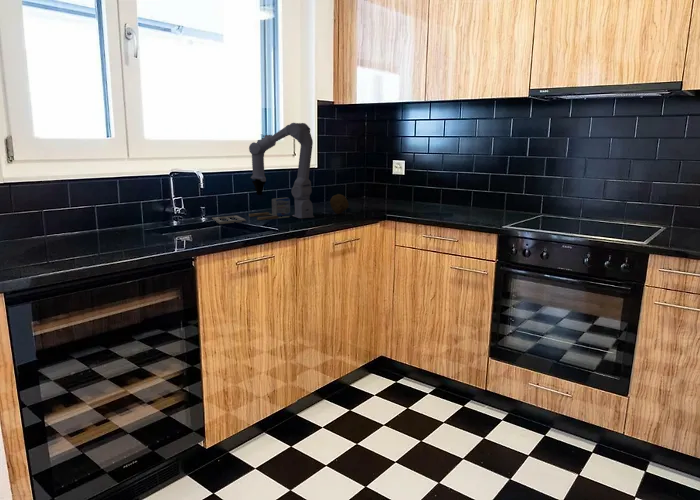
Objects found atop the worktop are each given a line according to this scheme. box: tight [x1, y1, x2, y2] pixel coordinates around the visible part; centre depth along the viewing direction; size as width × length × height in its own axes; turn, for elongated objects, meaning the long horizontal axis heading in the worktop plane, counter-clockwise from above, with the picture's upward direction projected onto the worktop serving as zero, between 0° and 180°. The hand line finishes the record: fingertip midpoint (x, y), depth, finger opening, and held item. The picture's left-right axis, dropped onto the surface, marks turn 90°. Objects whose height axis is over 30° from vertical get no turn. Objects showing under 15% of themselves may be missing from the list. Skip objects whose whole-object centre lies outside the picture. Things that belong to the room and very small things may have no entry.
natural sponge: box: [329, 193, 350, 215], centre depth 247 cm, size 9×9×10 cm
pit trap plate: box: [211, 215, 247, 225], centre depth 231 cm, size 13×12×1 cm
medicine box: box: [271, 197, 291, 217], centre depth 243 cm, size 8×4×9 cm, turn 128°
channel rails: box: [248, 211, 279, 221], centre depth 239 cm, size 13×10×1 cm
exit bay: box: [268, 213, 291, 219], centre depth 244 cm, size 13×6×1 cm, turn 31°
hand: (259, 194), depth 249 cm, fingers closed
